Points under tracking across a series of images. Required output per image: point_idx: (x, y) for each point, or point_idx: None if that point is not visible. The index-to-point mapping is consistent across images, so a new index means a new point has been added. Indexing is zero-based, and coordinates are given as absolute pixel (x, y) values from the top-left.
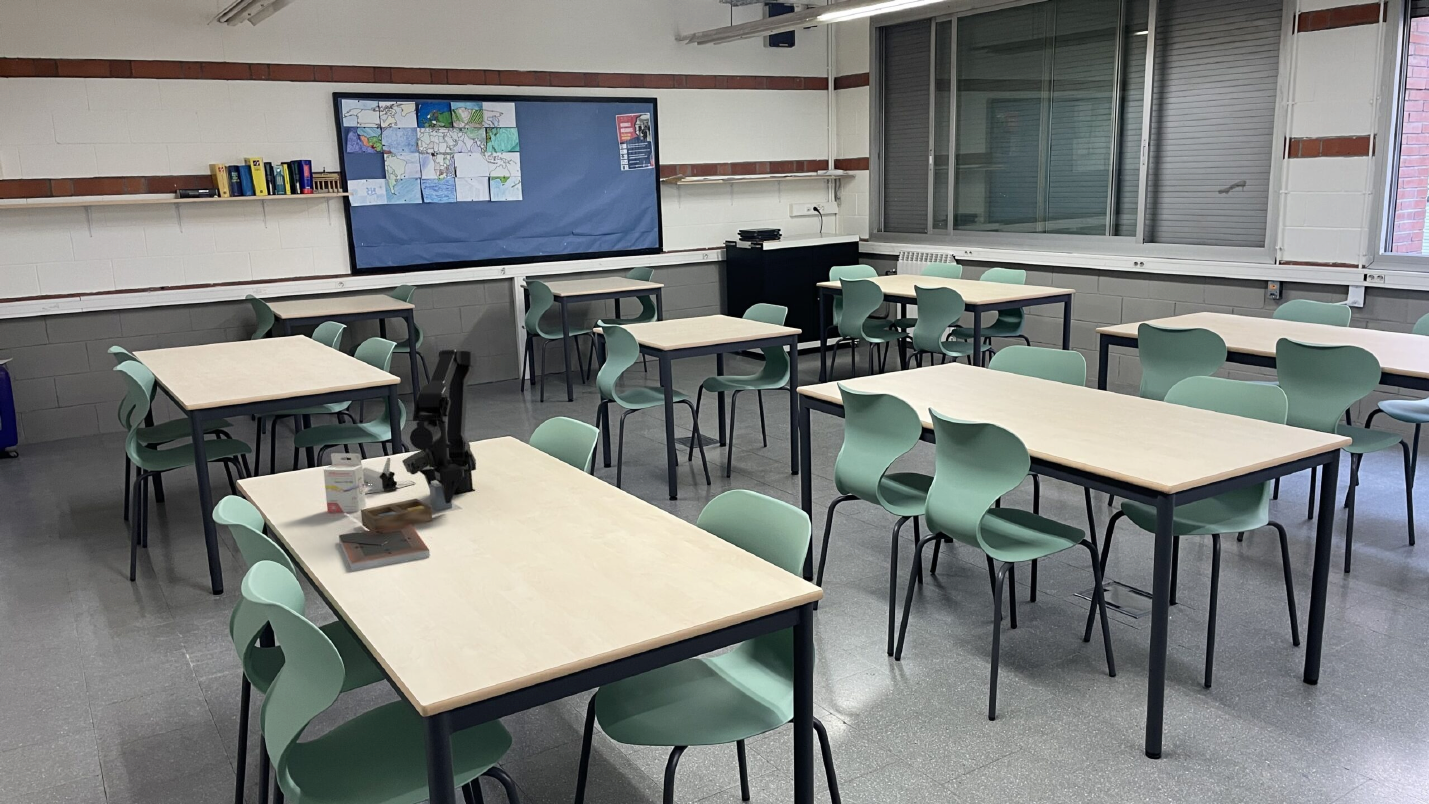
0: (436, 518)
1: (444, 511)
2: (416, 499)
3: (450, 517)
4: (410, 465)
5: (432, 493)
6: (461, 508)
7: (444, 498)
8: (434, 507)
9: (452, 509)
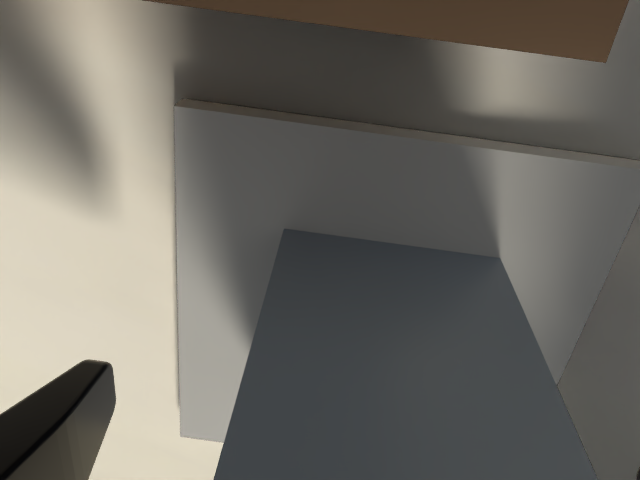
0: (67, 90)
1: (199, 276)
2: (511, 12)
3: (7, 227)
4: None
5: (429, 424)
6: (181, 426)
7: (59, 410)
8: (371, 256)
9: (211, 363)
